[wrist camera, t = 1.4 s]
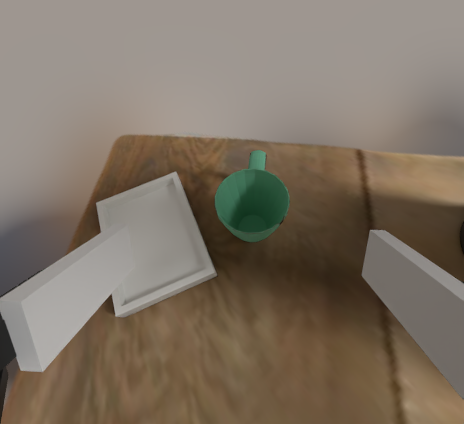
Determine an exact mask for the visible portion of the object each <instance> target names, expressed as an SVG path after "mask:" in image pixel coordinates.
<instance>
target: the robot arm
mask: <svg viewBox="0 0 464 424" xmlns="http://www.w3.org/2000/svg"><path fill="white" fill-rule="evenodd" d="M460 241H461V246H462V249H463V252H464V222H463V225H462V227H461V231H460ZM133 268H134V262H133V255H132V248H131V240H130V233H129V226H128V224H114V225H112V226H111V227H109V228H108V229H106V230H105V231H103V232H101V233H100V234H98V235H97V236H95V237H94V238H92V239H91V240H89V241H88V242H86V243H84V244H83V245H81V246H80V247H78V248H77V249H75V250H74V251H72V252H71V253H69V254H68V255H66V256H64V257H63V258H61V259H60V260H58V261H57V262H55V263H54V264H52V265H51V266H49V267H48V268H46V269H43V270H41V271H39V272H37V273H36V274H34V275H33V276H31V277H30V278H28V280H25V281H23V282H22V283H20V284H19V285H18V286H17V287H14V288H12V289H11V290H9V291H8V292H6V293H5V294H3V295H2V296H0V423H1V417H2V411H3V405H4V399H5V392H6V386H7V380H8V372H7V369H6V365H7V364H9V363H10V361H12V360H13V359H14V358H15V357H16V358H17V361H18V364H19V367H20V370H21V371H35V372H43V371H44V370H45V369H46V368H47V366H48V365H49V364H50V363H51V362H52V361H53V360H54V358H55V357H56V356H57V355H58V354H59V353H60V352H61V351H62V349H63V348H64V347H65V346H66V345H67V344H68V343H69V341H70V340H71V339H72V338H73V337H74V336H75V335H76V333H77V332H78V331H79V330H80V329H81V328H82V327H83V325H84V324H85V323H86V322H87V321H88V320H89V319H90V317H91V316H92V315H93V314H94V313H95V312H96V311H97V309H98V308H99V307H100V306H101V305H102V304H103V303H104V301H105V300H106V299H107V298H108V297H109V296H110V295H111V293H112V292H113V291H114V290H115V289H116V288H117V287H118V285H119V284H120V283H121V282H122V281H123V280H124V279H125V277H126V276H127V275H128V274H129V273H130V272H131V271H132V269H133ZM361 276H362V277H363V278H364V279H365V281H366V282H367V283H368V284H369V285H370V287H371V288H372V289H373V290H374V292H375V293H376V294H377V295H378V296H379V298H380V299H381V300H382V301H383V303H384V304H385V305H386V306H387V307H388V309H389V310H390V311H391V312H392V314H393V315H394V316H395V317H396V318H397V320H398V321H399V322H400V323H401V325H402V326H403V327H404V328H405V329H406V331H407V332H408V333H409V334H410V335H411V337H412V338H413V339H414V340H415V342H416V343H417V344H418V345H419V346H420V348H421V349H422V350H423V351H424V353H425V354H426V355H427V356H428V357H429V359H430V360H431V361H432V362H433V364H434V365H435V366H436V367H437V368H438V370H439V371H440V372H441V373H442V375H443V376H444V377H445V378H446V379H447V381H448V382H449V383H450V384H451V386H452V387H453V388H454V389H455V390H456V392H457V393H458V394H459V395H460V397H461V398H462V399H464V282H462V281H460V280H458V279H456V278H455V277H453V276H452V275H450V274H449V273H447V272H446V271H444V270H443V269H441V268H440V267H438V266H437V265H436V264H434V263H433V262H431V261H430V260H428V259H427V258H425V257H424V256H422V255H421V254H419V253H418V252H416V251H415V250H413V249H412V248H410V247H409V246H408V245H406V244H405V243H403V242H402V241H400V240H399V239H397V238H396V237H394V236H393V235H391V234H390V233H388V232H387V231H385V230H370V233H369V238H368V243H367V249H366V254H365V259H364V265H363V270H362V275H361Z"/></svg>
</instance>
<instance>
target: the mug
mask: <svg viewBox="0 0 464 424" xmlns="http://www.w3.org/2000/svg"><path fill="white" fill-rule="evenodd" d="M266 156H267V155H266V153H265V152H263V151H261V150H257V151H253V152H251V153H250V159H249V168H248V169H243V170H240V171H237V172H234V173H233V174H231V175H230V176H228V177H227V178H225V179H224V180H223V182H222V183H221V184H220V185H219V187H218V189H217V192H216V194H215V209H216V212H217V215H218V217H219V219H220V221H221V222H222V223H223V224H224V226H225V227H226V228H227V229H228V230H229V231H230V232H231V233H232V234H233V235H235V236H236V237H238V238H240V239H241V240H243V241H247V242H258V241H261V240H263V239H265V238H267V237H268V236H269V235H270V234H272V233H273V232H274V231H275V230H276V229H277V228H278V227H279V226H280V224H281V223H282V222H283V220H284V219H285V217H286V215H287V213H288V208H289V204H290V199H289V192H288V190H287V188H286V186H285V185H284V183H283V182H282V181H281V180H280V179H279V178H278V177H277V176H276V175H274V174H272V173H270V172H268V171H266V170H265V166H266Z"/></svg>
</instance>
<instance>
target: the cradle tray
mask: <svg viewBox="0 0 464 424" xmlns="http://www.w3.org/2000/svg"><path fill="white" fill-rule="evenodd" d="M96 206H97V212H98V218H99V223H100V229H101V232H103V231H105V230H106V229H108V228H109V227H111V226H112V225H114V224H128V226H129V233H130V240H131V248H132V255H133V262H134V268H133V269H132V271H131V272H130V273H129V274H128V275H127V276H126V277H125V279H124V280H123V281H122V282H121V283H120V284H119V285H118V287H117V288H116V289H115V290H114V291H113V292H112V298H113V304H114V309H115V315H116V317H127V316H129V315H131V314H133V313H135V312H138V311H140V310H142V309H144V308H147V307H149V306H151V305H153V304H156V303H158V302H160V301H162V300H165V299H167V298H169V297H171V296H173V295H176V294H178V293H180V292H182V291H185V290H187V289H189V288H191V287H194V286H196V285H198V284H200V283H202V282H205V281H207V280H209V279H211V278H214V277H216V276H218V275H217V273H216V270H215V268H214V265H213V263H212V260H211V258H210V255H209V252H208V250H207V247H206V245H205V242H204V240H203V237H202V235H201V232H200V229H199V227H198V224H197V222H196V219H195V217H194V214H193V212H192V209H191V206H190V204H189V201H188V199H187V196H186V194H185V191H184V189H183V186H182V183H181V181H180V179H179V177H178V175H177V173H176V172H173V173H171V174H168V175H166V176H163V177H161V178H158V179H156V180H153V181H150V182H148V183H145V184H143V185H140V186H138V187H135V188H133V189H130V190H127V191H125V192H122V193H120V194H117V195H115V196H112V197H110V198H107V199H105V200H102V201H99V202H97V203H96Z"/></svg>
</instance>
